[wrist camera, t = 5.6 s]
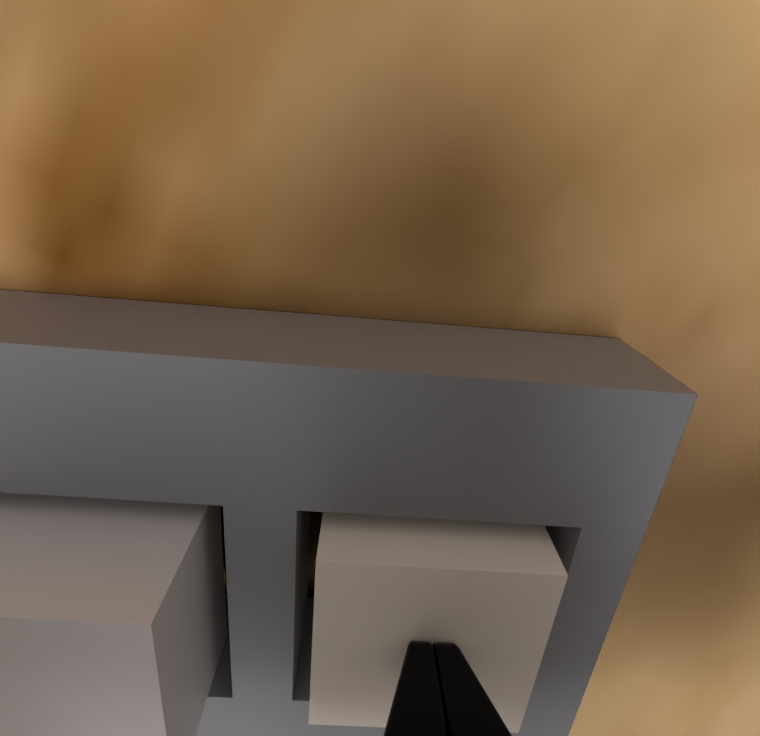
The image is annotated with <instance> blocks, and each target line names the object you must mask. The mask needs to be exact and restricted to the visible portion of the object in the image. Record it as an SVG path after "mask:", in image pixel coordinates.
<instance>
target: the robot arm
mask: <svg viewBox="0 0 760 736" xmlns="http://www.w3.org/2000/svg"><path fill="white" fill-rule="evenodd" d="M383 736H512V735H511V733H510V732H509V730H508V728H507V727H506V725H505V723H504V722H503V720H502V718H501V717H500V715H499V713H498V712H497V710H496V708H495V707H494V705H493V703H492V702H491V700H490V698H489V697H488V695H487V693H486V692H485V690H484V688H483V687H482V685H481V683H480V682H479V680H478V678H477V677H476V675H475V673H474V671H473V670H472V668H471V666H470V665H469V663H468V661H467V660H466V658H465V656H464V655H463V653H462V651H461V650H460V648H459V647H458V646H457V645H456V644H455V643H449V642H435V643H433V645H432V643H430V642H428V641H410V642H409V644H408V647H407V650H406V654H405V658H404V661H403V665H402V669H401V672H400V676H399V680H398V684H397V687H396V691H395V695H394V698H393V702H392V706H391V709H390V713H389V717H388V720H387V724H386V728H385V731H384V735H383Z"/></svg>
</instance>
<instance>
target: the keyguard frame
mask: <svg viewBox="0 0 760 736" xmlns="http://www.w3.org/2000/svg"><path fill="white" fill-rule="evenodd" d="M697 395H698V394H696V393H695V392H694V391H692V390H691V389H689V388H688V387H687V386H685V385H684V384H682V383H681V382H680V381H678V380H677V379H675V378H674V377H673V376H671V375H670V374H668V373H667V372H666V371H664V370H663V369H661V368H660V367H659V366H657V365H656V364H654V363H653V362H652V361H650V360H649V359H647V358H646V357H645V356H643V355H642V354H640V353H639V352H638V351H636V350H635V349H633V348H632V347H631V346H629V345H628V344H626V343H625V342H624V341H622V340H621V339H619V338H609V337H596V336H583V335H571V334H558V333H545V332H533V331H520V330H507V329H495V328H482V327H469V326H457V325H444V324H431V323H419V322H406V321H393V320H381V319H368V318H355V317H343V316H330V315H317V314H305V313H292V312H279V311H267V310H254V309H241V308H229V307H216V306H203V305H191V304H178V303H165V302H153V301H140V300H127V299H115V298H102V297H89V296H77V295H64V294H51V293H39V292H26V291H13V290H1V289H0V492H2V493H18V494H35V495H51V496H68V497H84V498H101V499H117V500H133V501H150V502H166V503H183V504H199V505H216V506H223V518H224V538H225V558H226V577H227V594H225V605H226V624H227V636H226V639H225V642H224V645H223V649H222V652H221V655H220V658H219V661H218V665H217V668H216V671H215V674H214V677H213V681H212V684H211V687H210V690H209V693H208V697H207V700H206V703H205V706H204V710H203V713H202V716H201V719H200V722H199V726H198V729H197V732H196V735H195V736H383V735H384V731H385V727H361V726H337V725H313V724H308V723H309V701H310V678H311V656H312V634H313V611H314V599H313V598H308V579H309V552H310V526H311V511H314V512H330V513H347V514H363V515H380V516H396V517H413V518H429V519H445V520H462V521H478V522H495V523H511V524H527V525H544V526H545V528H546V530H547V532H548V534H549V536H550V538H551V540H552V542H553V545H554V547H555V549H556V551H557V553H558V555H559V557H560V559H561V562H562V564H563V566H564V568H565V570H566V572H567V574H568V578H567V581H566V584H565V587H564V591H563V594H562V597H561V600H560V603H559V606H558V610H557V613H556V616H555V619H554V622H553V625H552V629H551V632H550V635H549V638H548V641H547V644H546V648H545V651H544V654H543V657H542V660H541V664H540V667H539V670H538V673H537V676H536V679H535V683H534V686H533V689H532V692H531V695H530V698H529V702H528V705H527V708H526V711H525V714H524V717H523V721H522V724H521V727H520V730H519V733H511V735H512V736H568V734H569V732H570V729H571V726H572V724H573V721H574V718H575V716H576V713H577V711H578V708H579V705H580V703H581V700H582V697H583V695H584V692H585V690H586V687H587V684H588V682H589V679H590V676H591V674H592V671H593V669H594V666H595V663H596V661H597V658H598V655H599V653H600V650H601V647H602V645H603V642H604V640H605V637H606V634H607V632H608V629H609V626H610V624H611V621H612V619H613V616H614V613H615V611H616V608H617V605H618V603H619V600H620V598H621V595H622V592H623V590H624V587H625V584H626V582H627V579H628V577H629V574H630V571H631V569H632V566H633V563H634V561H635V558H636V555H637V553H638V550H639V548H640V545H641V542H642V540H643V537H644V534H645V532H646V529H647V527H648V524H649V521H650V519H651V516H652V513H653V511H654V508H655V506H656V503H657V500H658V498H659V495H660V492H661V490H662V487H663V485H664V482H665V479H666V477H667V474H668V471H669V469H670V466H671V463H672V461H673V458H674V456H675V453H676V450H677V448H678V445H679V442H680V440H681V437H682V435H683V432H684V429H685V427H686V424H687V421H688V419H689V416H690V414H691V411H692V408H693V406H694V403H695V400H696V398H697Z"/></svg>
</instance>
